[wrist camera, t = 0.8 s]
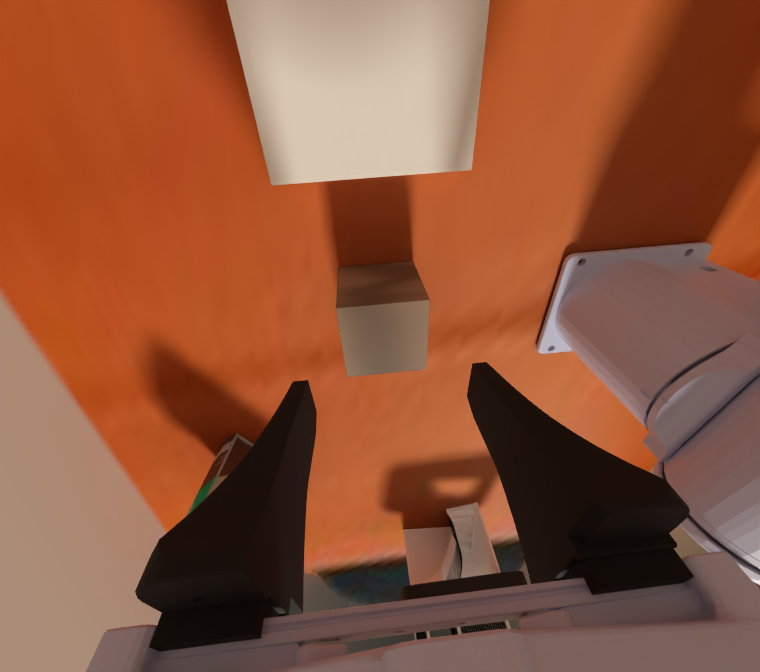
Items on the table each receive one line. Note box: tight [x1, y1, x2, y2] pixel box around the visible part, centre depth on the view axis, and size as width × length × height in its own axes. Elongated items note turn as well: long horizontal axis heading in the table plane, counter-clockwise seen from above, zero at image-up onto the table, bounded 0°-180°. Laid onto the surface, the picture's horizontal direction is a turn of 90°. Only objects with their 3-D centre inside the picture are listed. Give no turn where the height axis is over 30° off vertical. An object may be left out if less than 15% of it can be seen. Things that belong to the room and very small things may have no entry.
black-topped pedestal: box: [397, 502, 528, 640], centre depth 36 cm, size 28×26×13 cm
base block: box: [226, 0, 490, 185], centre depth 12 cm, size 9×9×3 cm
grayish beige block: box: [336, 261, 430, 377], centre depth 18 cm, size 5×5×5 cm
